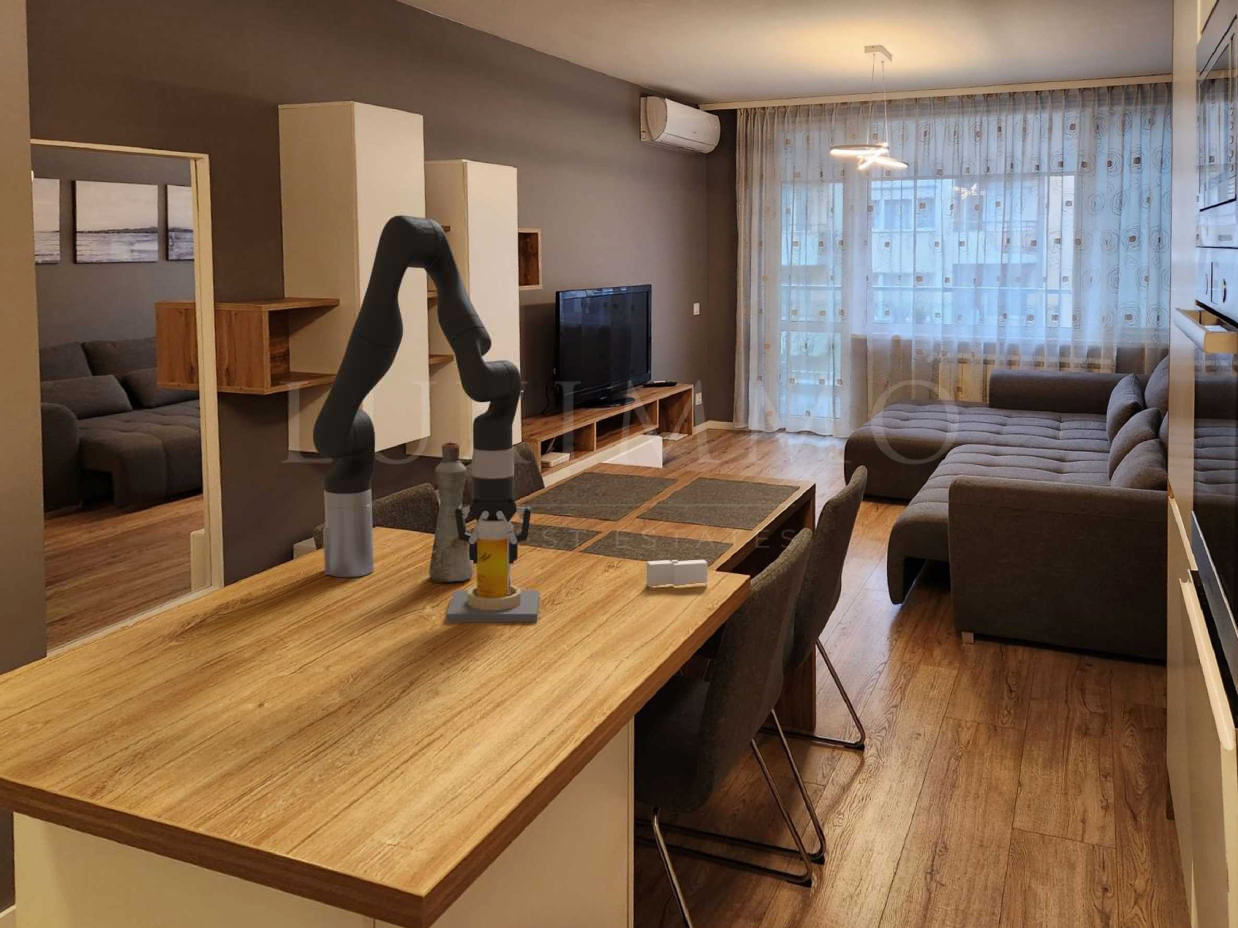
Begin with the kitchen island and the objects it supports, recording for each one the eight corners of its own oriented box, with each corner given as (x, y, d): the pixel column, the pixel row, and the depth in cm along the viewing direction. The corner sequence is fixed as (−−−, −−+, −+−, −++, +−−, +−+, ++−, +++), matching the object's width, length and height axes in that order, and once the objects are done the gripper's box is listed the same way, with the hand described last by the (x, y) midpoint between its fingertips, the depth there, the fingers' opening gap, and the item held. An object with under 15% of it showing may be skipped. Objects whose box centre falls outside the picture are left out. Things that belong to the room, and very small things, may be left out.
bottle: (437, 587, 217) (434, 446, 211) (423, 575, 225) (420, 439, 219) (479, 582, 221) (477, 443, 215) (464, 570, 229) (462, 436, 223)
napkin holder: (719, 584, 222) (720, 557, 221) (699, 600, 212) (700, 571, 211) (650, 575, 228) (650, 548, 227) (628, 590, 218) (628, 562, 217)
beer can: (477, 592, 206) (476, 514, 203) (510, 592, 207) (510, 513, 204) (476, 602, 200) (475, 522, 198) (510, 602, 201) (509, 521, 198)
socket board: (446, 622, 197) (446, 603, 196) (454, 597, 211) (454, 580, 210) (537, 621, 198) (537, 603, 197) (539, 597, 211) (539, 579, 211)
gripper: (450, 476, 195) (451, 568, 198) (532, 476, 196) (532, 568, 199) (454, 468, 203) (456, 556, 206) (533, 468, 203) (533, 557, 206)
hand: (493, 562), depth 202 cm, fingers closed on beer can, 6 cm apart
